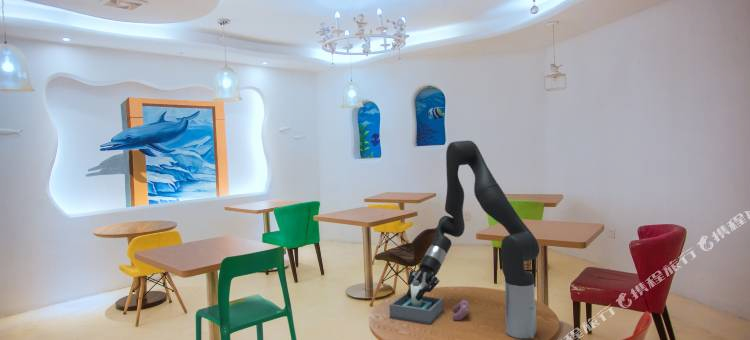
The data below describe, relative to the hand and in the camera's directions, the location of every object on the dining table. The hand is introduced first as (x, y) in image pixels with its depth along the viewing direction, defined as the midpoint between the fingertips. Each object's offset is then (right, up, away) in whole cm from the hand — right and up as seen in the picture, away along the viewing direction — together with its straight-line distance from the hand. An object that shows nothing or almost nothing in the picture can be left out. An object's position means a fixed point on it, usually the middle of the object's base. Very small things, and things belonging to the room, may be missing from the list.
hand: (412, 298), depth 165 cm
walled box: (+2, -7, +2) cm, 7 cm away
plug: (+2, -4, +2) cm, 4 cm away
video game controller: (+18, -7, -1) cm, 19 cm away
